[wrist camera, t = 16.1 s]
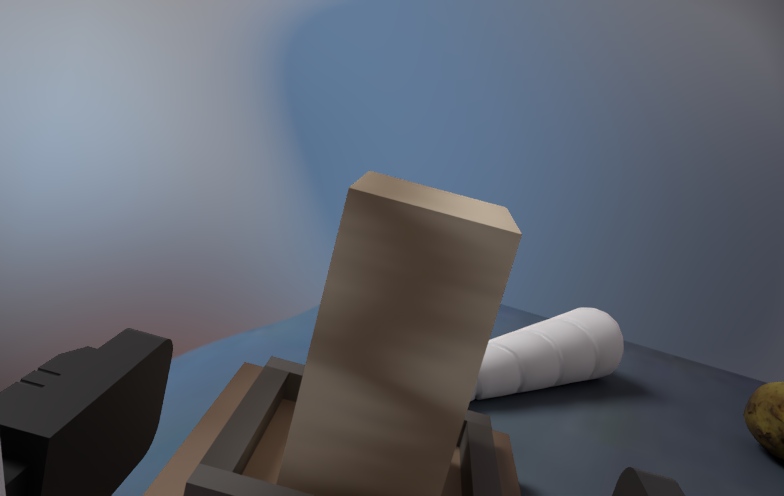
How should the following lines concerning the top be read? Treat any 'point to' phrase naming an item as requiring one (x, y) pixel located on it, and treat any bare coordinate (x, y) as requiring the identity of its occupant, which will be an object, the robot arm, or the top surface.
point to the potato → (767, 417)
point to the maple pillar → (397, 340)
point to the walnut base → (269, 436)
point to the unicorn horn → (551, 354)
